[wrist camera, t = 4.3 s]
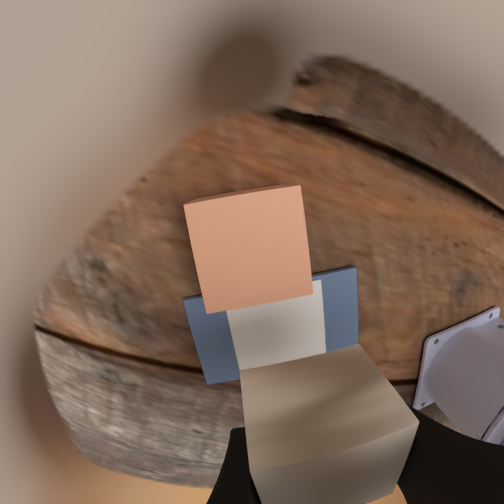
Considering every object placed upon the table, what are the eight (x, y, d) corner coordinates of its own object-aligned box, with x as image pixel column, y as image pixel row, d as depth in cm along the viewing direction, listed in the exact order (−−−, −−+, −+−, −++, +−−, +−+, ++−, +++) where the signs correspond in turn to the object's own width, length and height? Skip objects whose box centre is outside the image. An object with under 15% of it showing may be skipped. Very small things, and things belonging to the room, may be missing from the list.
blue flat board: (353, 265, 17) (356, 267, 16) (355, 349, 18) (358, 353, 18) (183, 297, 16) (182, 300, 16) (207, 380, 18) (207, 384, 17)
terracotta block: (279, 184, 15) (300, 185, 11) (290, 265, 16) (313, 294, 12) (195, 198, 15) (183, 204, 11) (211, 279, 16) (206, 313, 12)
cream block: (359, 343, 10) (419, 421, 6) (354, 421, 11) (392, 493, 7) (239, 370, 10) (249, 471, 6) (258, 444, 11) (271, 527, 7)
